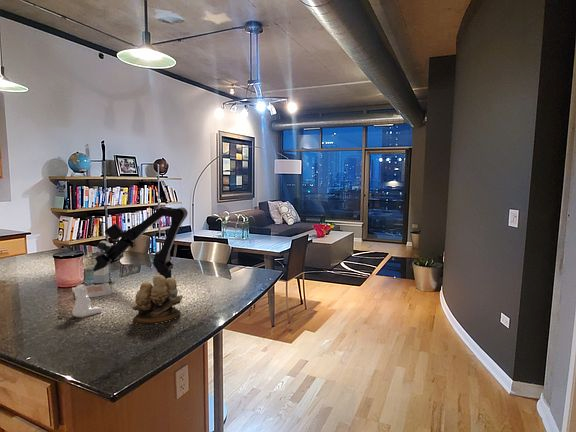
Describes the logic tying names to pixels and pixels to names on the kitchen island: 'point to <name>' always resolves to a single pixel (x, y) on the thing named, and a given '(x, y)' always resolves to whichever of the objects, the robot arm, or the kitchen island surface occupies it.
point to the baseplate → (97, 290)
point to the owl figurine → (157, 301)
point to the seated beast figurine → (83, 303)
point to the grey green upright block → (101, 274)
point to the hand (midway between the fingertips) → (98, 268)
